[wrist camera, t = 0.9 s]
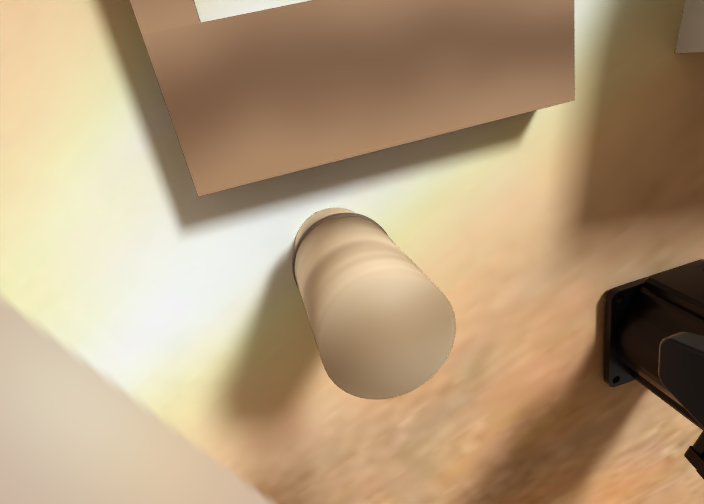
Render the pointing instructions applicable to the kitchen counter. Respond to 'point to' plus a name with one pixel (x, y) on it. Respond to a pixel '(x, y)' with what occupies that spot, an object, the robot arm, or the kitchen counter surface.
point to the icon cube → (691, 28)
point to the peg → (369, 306)
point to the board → (347, 77)
